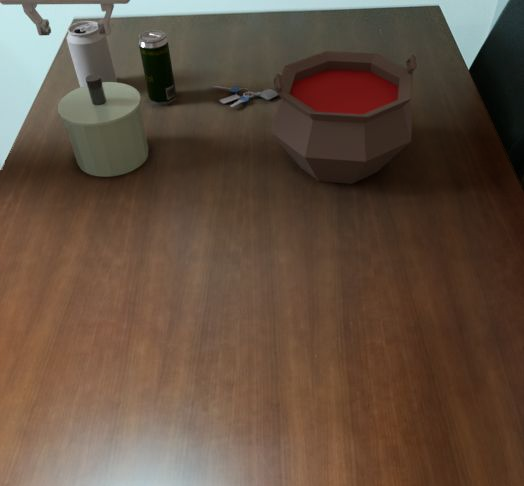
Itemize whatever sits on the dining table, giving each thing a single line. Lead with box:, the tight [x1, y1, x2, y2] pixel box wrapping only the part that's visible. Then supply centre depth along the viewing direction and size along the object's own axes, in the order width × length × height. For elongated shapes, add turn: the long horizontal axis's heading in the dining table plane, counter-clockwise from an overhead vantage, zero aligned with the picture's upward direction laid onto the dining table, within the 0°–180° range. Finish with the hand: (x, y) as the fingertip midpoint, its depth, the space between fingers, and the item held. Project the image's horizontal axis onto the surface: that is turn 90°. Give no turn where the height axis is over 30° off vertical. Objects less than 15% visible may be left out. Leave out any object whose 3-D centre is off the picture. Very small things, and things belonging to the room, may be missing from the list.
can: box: [65, 20, 118, 88], centre depth 115 cm, size 8×8×12 cm
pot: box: [63, 105, 150, 178], centre depth 100 cm, size 13×13×10 cm
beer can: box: [138, 29, 177, 106], centre depth 111 cm, size 5×5×12 cm
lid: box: [57, 74, 142, 126], centre depth 95 cm, size 14×14×5 cm
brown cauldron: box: [270, 50, 418, 185], centre depth 94 cm, size 24×24×16 cm
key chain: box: [211, 85, 279, 108], centre depth 114 cm, size 14×8×1 cm, turn 80°
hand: (75, 34), depth 89 cm, fingers open, 8 cm apart
